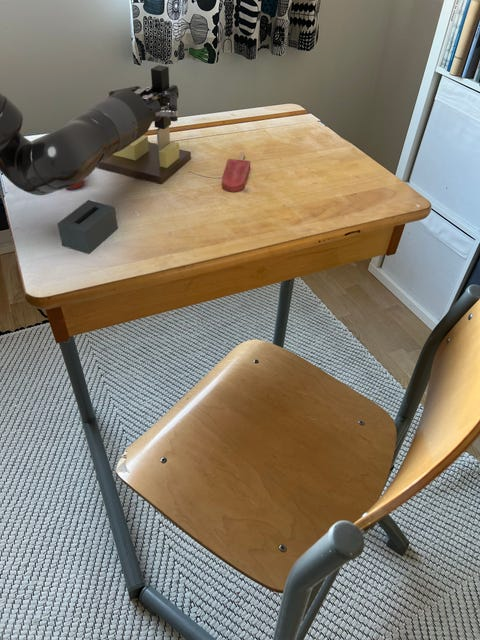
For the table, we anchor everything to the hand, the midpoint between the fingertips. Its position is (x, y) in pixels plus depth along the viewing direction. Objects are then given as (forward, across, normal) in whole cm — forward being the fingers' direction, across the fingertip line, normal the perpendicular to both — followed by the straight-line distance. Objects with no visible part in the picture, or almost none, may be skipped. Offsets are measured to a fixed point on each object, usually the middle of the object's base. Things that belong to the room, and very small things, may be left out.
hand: (169, 89), depth 92 cm
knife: (-3, 0, +12) cm, 12 cm away
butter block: (-3, +8, +12) cm, 15 cm away
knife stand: (-29, -1, +14) cm, 32 cm away
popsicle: (+2, -13, +14) cm, 19 cm away
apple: (-17, +12, +14) cm, 25 cm away
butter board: (-3, +6, +14) cm, 16 cm away
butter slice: (-3, -1, +12) cm, 13 cm away
